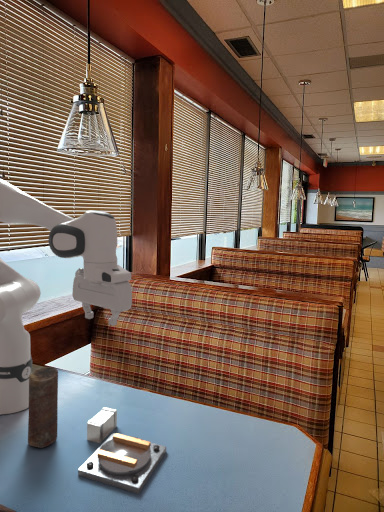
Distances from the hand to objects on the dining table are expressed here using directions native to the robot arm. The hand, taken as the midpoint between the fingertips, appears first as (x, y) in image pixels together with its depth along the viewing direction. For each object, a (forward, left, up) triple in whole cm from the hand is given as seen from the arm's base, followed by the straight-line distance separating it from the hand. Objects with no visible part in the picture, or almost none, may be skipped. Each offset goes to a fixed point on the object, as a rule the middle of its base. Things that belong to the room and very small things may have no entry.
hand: (100, 321), depth 104 cm
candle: (-11, -10, -33) cm, 36 cm away
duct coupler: (+1, 0, -32) cm, 32 cm away
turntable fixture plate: (+13, -9, -32) cm, 36 cm away
